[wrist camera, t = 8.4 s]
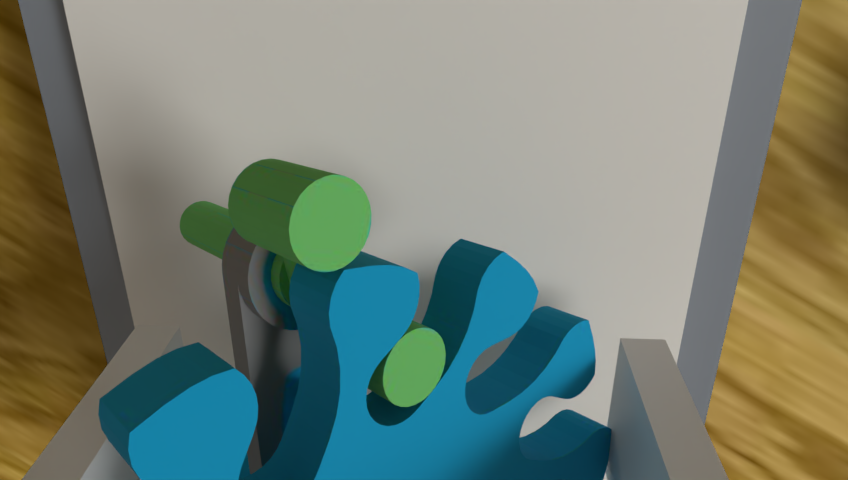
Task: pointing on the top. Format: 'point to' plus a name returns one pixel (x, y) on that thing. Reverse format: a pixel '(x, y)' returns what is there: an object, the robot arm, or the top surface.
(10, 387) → the top surface
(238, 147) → the stand
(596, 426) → the gear
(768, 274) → the top surface
